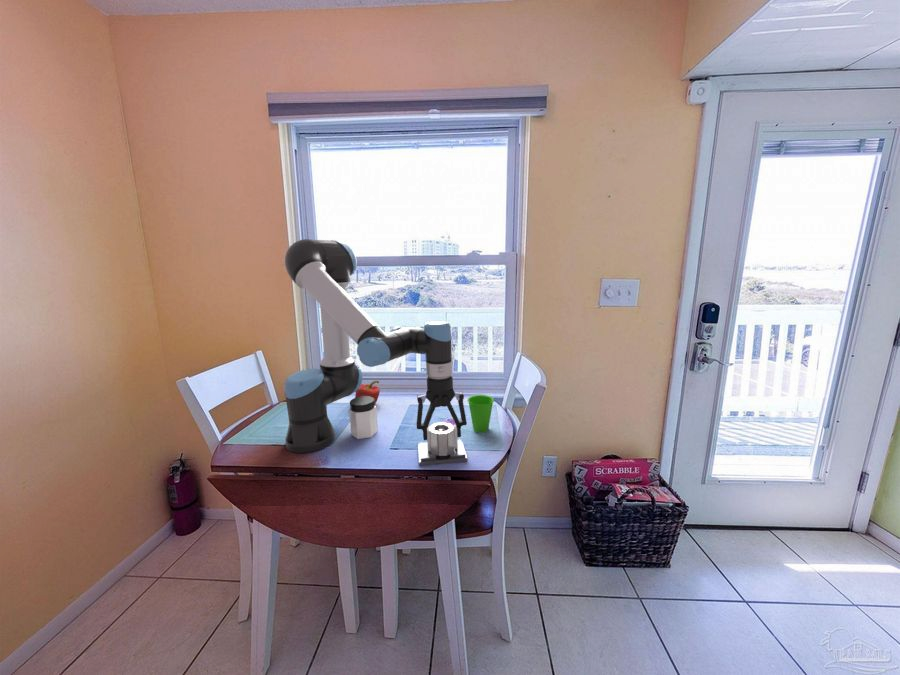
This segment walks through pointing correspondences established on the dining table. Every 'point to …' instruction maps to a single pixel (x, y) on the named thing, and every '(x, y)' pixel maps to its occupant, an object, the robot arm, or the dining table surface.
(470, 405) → the cup
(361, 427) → the jar
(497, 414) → the dining table surface
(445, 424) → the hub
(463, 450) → the shaft block
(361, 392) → the vegetable
